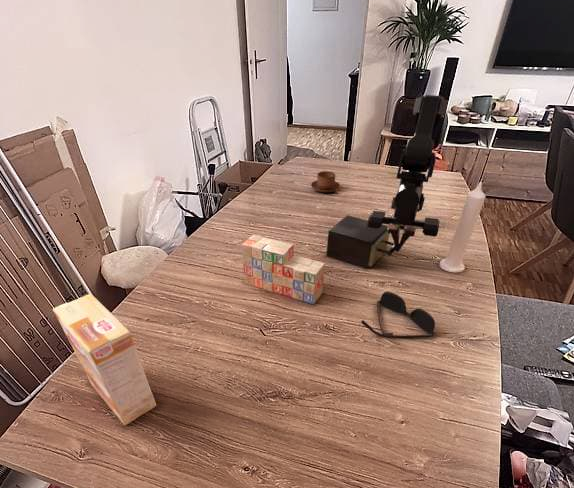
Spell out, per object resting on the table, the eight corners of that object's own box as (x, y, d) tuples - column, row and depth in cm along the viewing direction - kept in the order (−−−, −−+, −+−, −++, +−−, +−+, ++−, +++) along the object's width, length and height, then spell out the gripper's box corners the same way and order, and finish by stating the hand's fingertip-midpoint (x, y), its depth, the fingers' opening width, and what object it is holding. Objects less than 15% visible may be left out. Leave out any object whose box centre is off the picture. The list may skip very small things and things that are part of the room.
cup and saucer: (307, 185, 160) (307, 170, 156) (333, 183, 163) (334, 168, 159) (317, 196, 151) (317, 180, 147) (344, 193, 154) (345, 177, 150)
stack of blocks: (322, 293, 102) (326, 252, 94) (313, 305, 98) (316, 264, 89) (255, 272, 109) (253, 233, 101) (243, 283, 105) (240, 243, 97)
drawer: (399, 254, 116) (404, 234, 111) (385, 271, 109) (389, 250, 104) (350, 240, 122) (352, 220, 118) (333, 254, 115) (336, 234, 111)
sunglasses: (344, 323, 92) (346, 307, 89) (381, 301, 99) (385, 285, 96) (399, 361, 83) (404, 345, 79) (436, 334, 90) (442, 318, 86)
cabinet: (382, 251, 119) (387, 225, 113) (366, 269, 111) (371, 242, 105) (344, 239, 124) (347, 215, 119) (326, 256, 116) (328, 230, 111)
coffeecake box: (89, 383, 77) (50, 308, 64) (122, 365, 81) (91, 291, 68) (123, 427, 69) (87, 352, 56) (158, 405, 73) (131, 330, 60)
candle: (465, 274, 109) (498, 188, 93) (440, 271, 110) (468, 185, 94) (462, 261, 115) (492, 178, 98) (438, 259, 116) (464, 176, 99)
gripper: (446, 191, 102) (432, 243, 112) (377, 183, 107) (370, 234, 117) (445, 206, 94) (430, 261, 105) (371, 197, 99) (363, 250, 109)
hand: (397, 250), depth 109 cm, fingers closed
